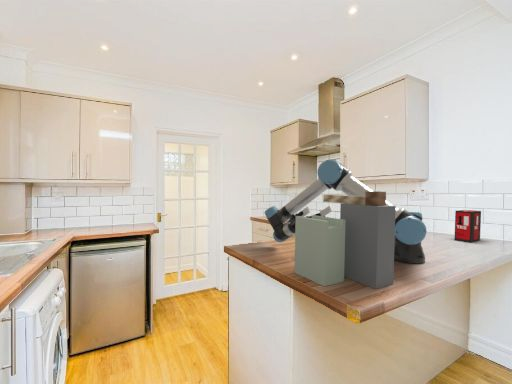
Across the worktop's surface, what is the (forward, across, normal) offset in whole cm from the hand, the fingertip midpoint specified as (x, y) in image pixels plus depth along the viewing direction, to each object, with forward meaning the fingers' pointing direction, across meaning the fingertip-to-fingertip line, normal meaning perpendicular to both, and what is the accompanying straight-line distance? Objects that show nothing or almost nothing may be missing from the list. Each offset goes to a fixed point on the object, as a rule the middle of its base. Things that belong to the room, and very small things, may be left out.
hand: (319, 209), depth 116 cm
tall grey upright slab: (+9, 0, -33) cm, 34 cm away
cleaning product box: (-3, -127, -26) cm, 130 cm away
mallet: (+17, 0, -5) cm, 18 cm away
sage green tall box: (0, +14, -28) cm, 31 cm away
